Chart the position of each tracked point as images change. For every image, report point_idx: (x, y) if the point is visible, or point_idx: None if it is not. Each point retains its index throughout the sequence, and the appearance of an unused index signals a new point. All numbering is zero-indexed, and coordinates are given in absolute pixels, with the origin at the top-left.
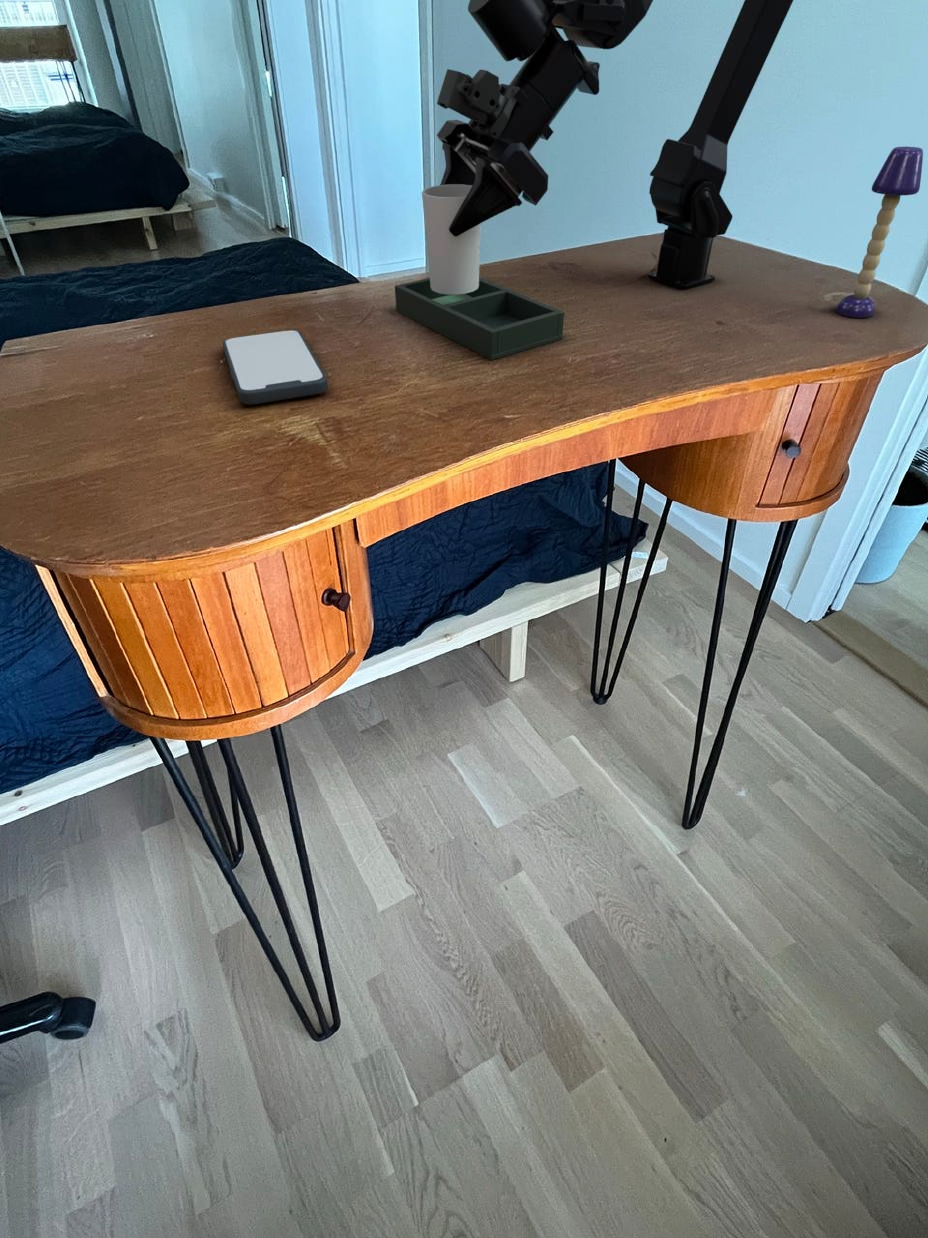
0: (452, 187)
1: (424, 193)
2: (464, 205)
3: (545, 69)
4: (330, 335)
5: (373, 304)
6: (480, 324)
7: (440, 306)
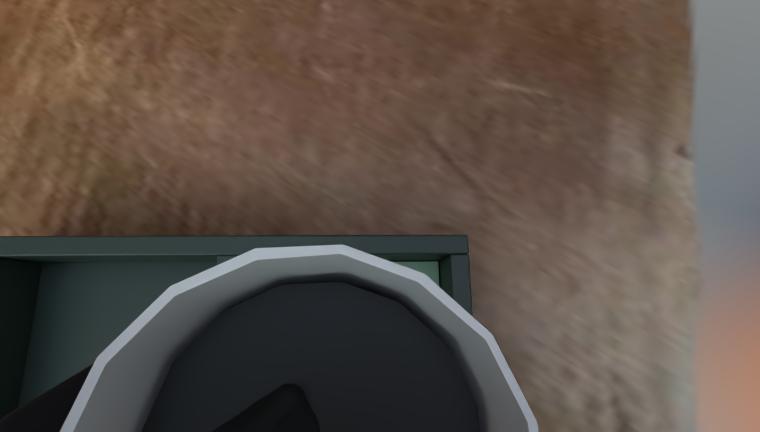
0: None
1: (375, 266)
2: (52, 399)
3: None
4: (401, 55)
5: (530, 225)
6: (40, 246)
7: (229, 239)
